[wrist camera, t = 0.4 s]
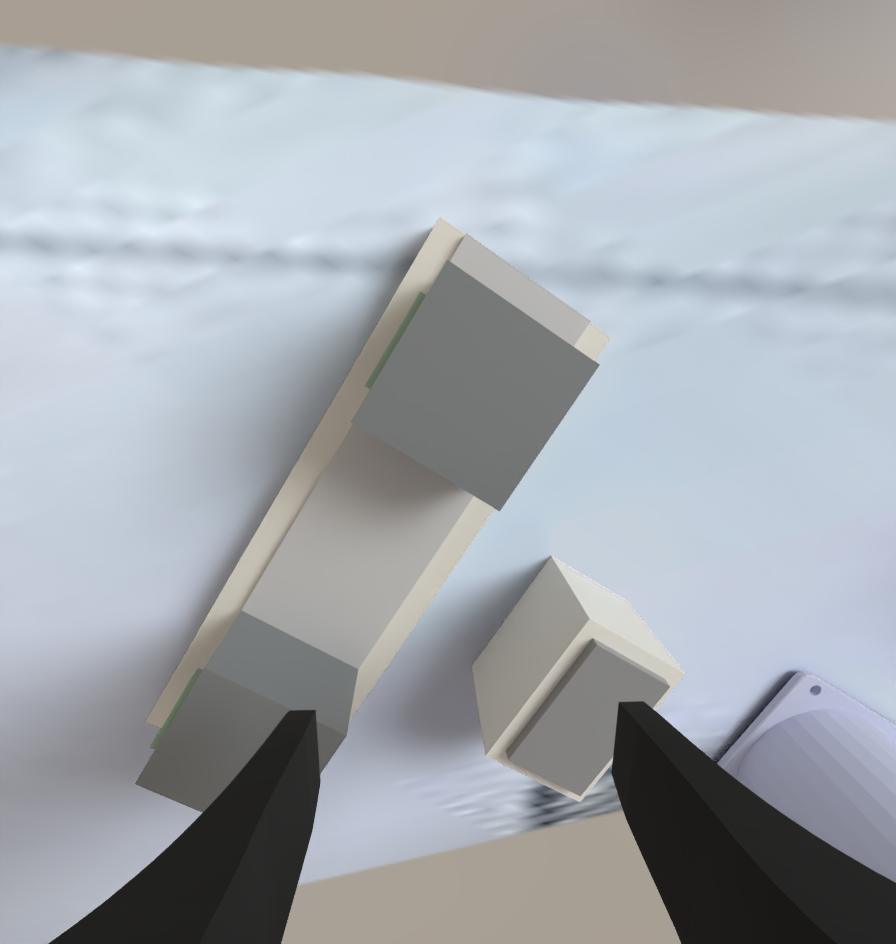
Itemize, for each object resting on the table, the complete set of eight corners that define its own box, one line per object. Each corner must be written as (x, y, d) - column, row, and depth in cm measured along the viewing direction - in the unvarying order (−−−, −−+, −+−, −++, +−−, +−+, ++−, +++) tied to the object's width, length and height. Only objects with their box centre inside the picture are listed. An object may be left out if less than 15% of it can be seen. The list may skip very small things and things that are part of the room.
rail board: (599, 338, 19) (660, 337, 14) (308, 768, 23) (278, 882, 18) (438, 224, 18) (445, 182, 13) (159, 701, 22) (86, 804, 17)
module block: (627, 600, 22) (691, 681, 17) (546, 705, 23) (583, 812, 18) (550, 555, 21) (593, 625, 16) (471, 665, 22) (487, 765, 17)
